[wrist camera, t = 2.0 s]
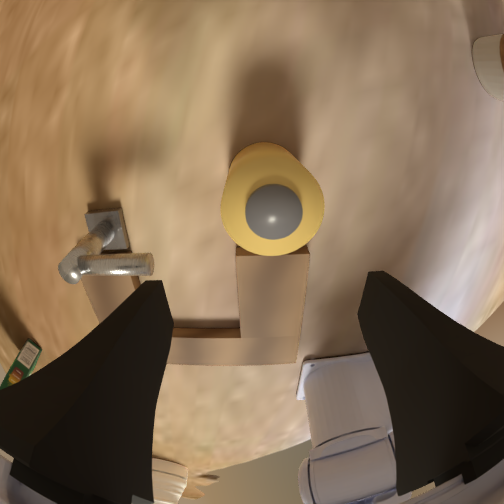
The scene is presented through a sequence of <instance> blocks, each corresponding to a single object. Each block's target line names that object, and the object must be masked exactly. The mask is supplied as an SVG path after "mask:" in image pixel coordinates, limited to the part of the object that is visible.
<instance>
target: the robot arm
mask: <svg viewBox="0 0 504 504" xmlns="http://www.w3.org/2000/svg"><path fill="white" fill-rule="evenodd" d="M357 315H358V319H359V323H360V327H361V330H362V334H363V337H364V340H365V343H366V345H367V348H368V350H369V352H370V353H364V354H357V355H350V356H343V357H335V358H326V359H316V360H307V361H305V362H303V365H302V370H301V375H300V380H299V385H298V390H297V394H296V399H297V400H305V402H306V408H307V414H308V420H309V427H310V433H311V440H312V446H313V449H310V450H309V458H305V459H304V460H303V462H302V464H301V465H300V467H299V471H298V483H299V490H300V494H301V498H302V500H303V503H304V504H504V347H503V346H501V345H498V344H496V343H494V342H492V341H490V340H487V339H486V338H484V337H482V336H480V335H478V334H476V333H474V332H473V331H471V330H469V329H468V328H466V327H464V326H462V325H461V324H459V323H457V322H456V321H454V320H453V319H451V318H450V317H448V316H447V315H445V314H444V313H442V312H441V311H439V310H438V309H437V308H435V307H434V306H432V305H431V304H430V303H428V302H427V301H425V300H424V299H423V298H421V297H420V296H419V295H417V294H416V293H415V292H413V291H412V290H411V289H409V288H408V287H406V286H405V285H404V284H402V283H401V282H400V281H398V280H397V279H395V278H394V277H392V276H391V275H389V274H388V273H386V272H384V271H373V272H368V276H367V280H366V284H365V288H364V292H363V296H362V300H361V303H360V307H359V310H358V314H357ZM173 325H174V322H173V319H172V315H171V312H170V308H169V305H168V301H167V298H166V294H165V290H164V286H163V283H162V280H149V281H145V282H144V283H142V284H141V285H140V286H139V287H138V288H137V289H136V290H135V291H134V292H133V293H132V294H131V295H130V296H129V297H127V298H126V299H125V300H124V301H123V302H122V303H121V304H120V305H119V306H118V307H117V308H116V309H115V310H114V311H113V312H112V313H111V314H110V315H109V316H108V317H107V318H106V319H104V320H103V321H102V322H101V323H100V324H99V325H98V326H97V327H96V328H94V329H93V330H92V331H91V332H90V333H89V334H88V335H87V336H86V337H84V338H83V339H82V340H81V341H80V342H78V343H77V344H76V345H75V346H73V347H72V348H71V349H69V350H68V351H67V352H65V353H64V354H63V355H61V356H60V357H58V358H57V359H55V360H54V361H52V362H51V363H49V364H48V365H46V366H45V367H43V368H42V369H40V370H39V371H37V372H35V373H33V374H32V375H30V376H28V377H26V378H25V379H23V380H21V381H19V382H17V383H15V384H13V385H11V386H8V387H6V388H4V389H1V390H0V449H2V450H3V451H5V452H6V453H7V454H9V455H10V456H12V457H13V458H14V460H13V463H12V462H10V461H9V460H7V459H6V458H5V457H3V456H2V455H0V504H153V503H154V497H153V483H152V444H153V429H154V418H155V409H156V404H157V399H158V395H159V391H160V387H161V383H162V379H163V375H164V371H165V367H166V363H167V359H168V355H169V352H170V348H171V341H172V333H173ZM387 434H388V435H387ZM433 481H434V482H435V486H436V487H435V488H433V489H431V490H429V491H427V492H425V493H423V494H421V495H418V496H416V497H414V498H411V499H410V497H411V496H412V494H411V493H412V491H414V490H416V489H419V488H421V487H423V486H425V485H427V484H429V483H431V482H433ZM367 497H368V498H367ZM357 500H358V501H357ZM353 501H354V502H353Z"/></svg>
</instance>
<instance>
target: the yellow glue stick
mask: <svg viewBox="0 0 504 504" xmlns="http://www.w3.org/2000/svg"><path fill="white" fill-rule="evenodd" d="M323 215H324V197H323V193H322V190H321V188H320V186H319V184H318V182H317V181H316V179H315V178H314V177H313V176H312V174H311V173H310V172H309V171H308V170H307V169H306V168H305V167H304V166H303V165H302V164H301V163H300V162H299V161H298V160H297V159H296V158H295V157H294V156H293V155H292V154H291V153H290V152H289V151H287V150H286V149H285V148H283V147H282V146H279V145H277V144H274V143H269V142H260V143H255V144H252V145H249V146H247V147H245V148H244V149H242V150H241V151H240V152H239V153H238V154H237V155H236V156H235V158H234V159H233V161H232V163H231V166H230V169H229V173H228V176H227V180H226V184H225V188H224V192H223V196H222V200H221V218H222V222H223V225H224V227H225V229H226V231H227V233H228V234H229V236H230V237H231V238H232V239H233V241H235V242H236V243H237V244H238V245H239V246H241V247H242V248H244V249H245V250H247V251H249V252H252V253H255V254H258V255H264V256H279V255H284V254H287V253H291V252H293V251H295V250H297V249H299V248H301V247H302V246H304V245H305V244H306V243H307V242H308V241H309V240H310V239H311V238H312V237H313V236H314V235H315V234H316V232H317V230H318V229H319V227H320V225H321V222H322V219H323Z"/></svg>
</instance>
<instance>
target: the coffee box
mask: <svg viewBox="0 0 504 504" xmlns="http://www.w3.org/2000/svg"><path fill="white" fill-rule="evenodd" d="M41 351H42V349H41V348H40V347H39V346H37V345H36V344H35V343H34V342H33V341H32V340H30V339H29V338H28V340H27V341H26V342H25V344H24V346H23V347H22V349H21V350H20V352H19V354H18V355H17V357H16V359H15V360H14V362H13V364H12V366H11V367H10V369H9V371H8V373H7V374H6V376H5V378H4V380H3V382H2V384H1V386H0V390H1V389H4V388H6V387H8V386H11V385H13V384H15V383H17V382H19V381H21V380H23V379H25V378H26V377H28V376H30V375H31V373H32V372H33V370H34V368H35V365H36V363H37V360H38V358H39V356H40V353H41Z"/></svg>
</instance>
